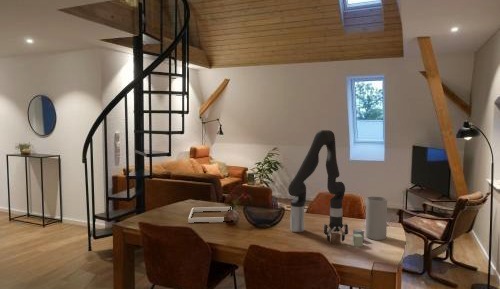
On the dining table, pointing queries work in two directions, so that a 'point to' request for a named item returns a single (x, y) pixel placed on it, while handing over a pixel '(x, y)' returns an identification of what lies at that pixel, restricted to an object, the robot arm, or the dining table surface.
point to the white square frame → (208, 219)
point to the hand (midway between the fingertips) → (335, 241)
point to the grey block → (359, 232)
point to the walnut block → (335, 238)
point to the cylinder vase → (376, 218)
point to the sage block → (357, 240)
